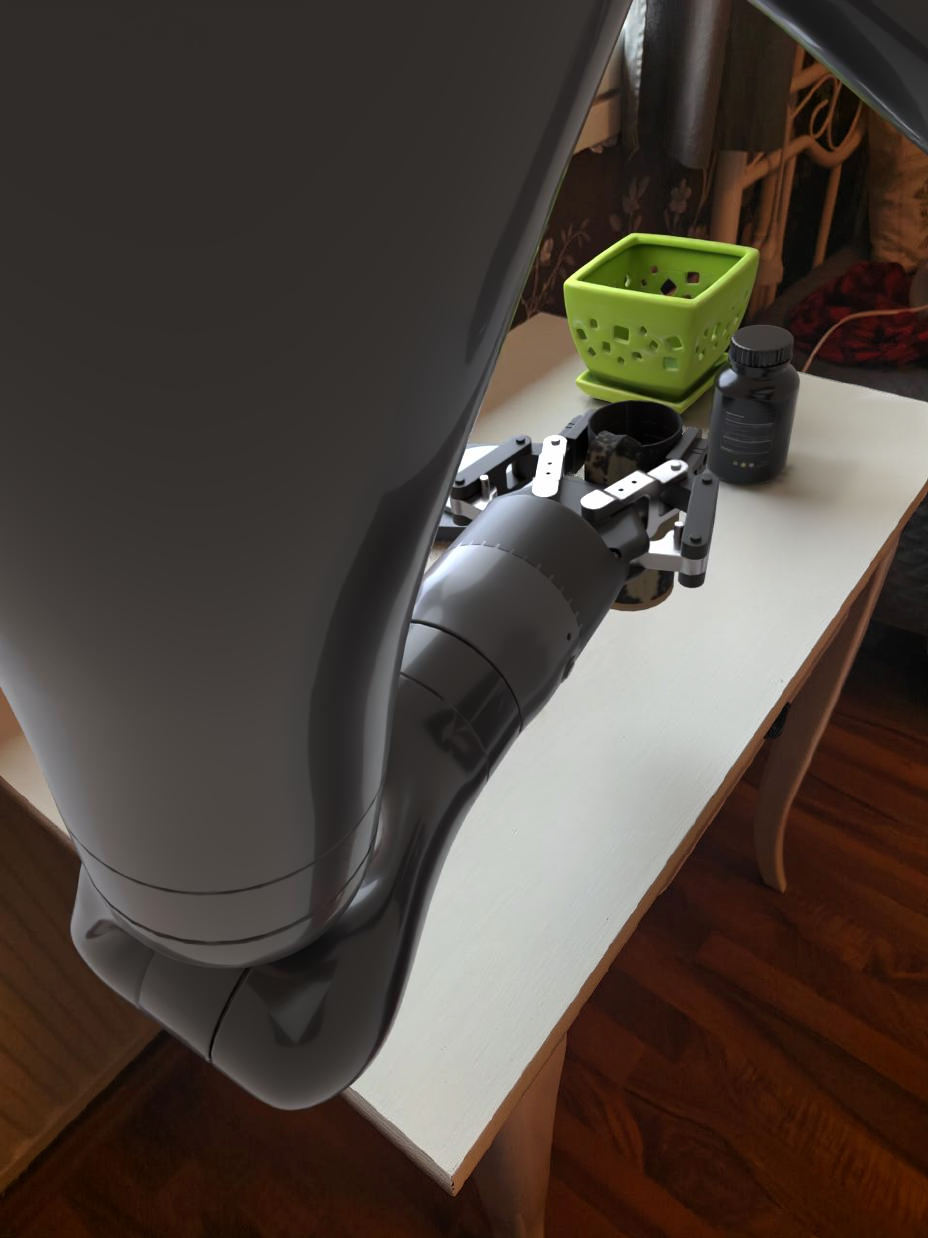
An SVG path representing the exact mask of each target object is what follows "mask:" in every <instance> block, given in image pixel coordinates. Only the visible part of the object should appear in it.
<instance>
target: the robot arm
mask: <svg viewBox="0 0 928 1238" xmlns="http://www.w3.org/2000/svg"><path fill="white" fill-rule="evenodd" d="M746 1H747V2H748V3H749V4H750V5H752V6H753V7H754V8H756V9H757V10H758V11H760V12H761V13H762V14H763V15H764V16H766V17H767V18H768V19H770V21H772V22H773V23H774V25H776V26H777V27H779V28H780V29H781V30H782V31H783V32H784V33H785V34H786V35H787V36H789V37H790V38H791V39H792V40H793V41H794V42H795V43H797V45H799V46H800V47H801V48H802V49H803V50H805V52H807V53H808V54H809V55H810V56H811V57H813V58H814V59H815V60H816V61H817V62H818V63H819V65H821V66H823V67H824V68H825V69H826V70H827V71H828V72H829V73H831V74H832V75H833V76H834V77H835V78H836V79H837V80H839V82H841V83H842V84H843V85H844V86H845V87H847V88H848V89H849V90H850V91H851V92H852V93H853V94H854V95H856V96H857V97H858V98H859V99H860V100H861V101H863V102H864V103H865V104H866V105H867V106H868V107H869V108H871V110H873V111H874V112H875V113H876V114H877V115H878V116H880V117H881V118H882V119H883V120H884V121H885V122H887V123H888V124H889V125H890V126H891V127H892V128H894V129H895V130H896V131H897V132H898V133H900V135H902V136H903V137H904V138H906V139H907V140H908V141H909V142H910V143H912V144H913V145H914V146H915V147H916V148H917V149H919V150H920V151H921V152H922V153H924V154H925V155H926V156H927V157H928V0H746ZM633 3H634V0H0V689H1V691H2V692H3V694H4V695H5V698H6V700H7V702H8V705H9V706H10V708H11V710H12V712H13V714H14V716H15V718H16V720H17V722H18V724H19V726H20V728H21V729H22V733H23V734H24V736H25V738H26V740H27V742H28V744H29V747H30V748H31V750H32V752H33V756H34V757H35V760H36V762H37V764H38V767H39V768H40V770H41V773H42V776H43V777H44V780H45V782H46V784H47V787H48V789H49V791H50V793H51V794H50V795H51V796H52V798H53V801H54V803H55V805H56V809H57V811H58V814H59V815H60V818H61V820H62V822H63V824H64V826H65V829H66V831H67V834H68V835H69V838H70V839H71V842H72V844H73V846H74V848H75V850H76V852H77V855H78V857H79V859H80V861H81V864H80V869H79V875H78V883H77V890H76V894H75V899H74V900H75V901H74V904H73V908H72V913H71V918H70V922H69V923H70V930H69V931H70V936H71V941H72V943H73V945H74V947H75V949H76V951H77V952H78V954H79V956H80V957H81V959H82V960H83V961H84V963H85V964H86V965H87V967H88V968H89V969H90V970H91V972H92V973H94V975H95V976H96V977H97V978H98V979H100V981H101V982H102V983H103V984H104V985H105V986H107V987H108V988H109V989H110V990H111V991H112V992H113V993H115V994H116V995H117V996H118V997H120V998H121V999H122V1000H124V1001H125V1002H126V1003H128V1004H129V1005H130V1006H132V1007H133V1008H134V1009H135V1010H137V1011H138V1012H139V1013H141V1014H143V1015H144V1016H145V1017H147V1018H148V1019H149V1020H151V1021H152V1022H153V1023H154V1024H156V1025H157V1026H159V1027H160V1028H161V1029H162V1030H164V1031H165V1032H167V1033H168V1034H169V1035H171V1036H172V1037H173V1038H175V1039H176V1040H178V1041H179V1042H180V1043H181V1044H182V1045H184V1046H185V1047H187V1048H188V1049H189V1050H190V1051H192V1052H193V1053H194V1054H196V1055H197V1056H198V1057H200V1058H201V1059H202V1060H203V1061H205V1062H207V1063H208V1064H211V1065H212V1067H213V1068H214V1069H216V1071H218V1072H219V1073H220V1074H222V1075H223V1076H225V1077H226V1078H228V1079H229V1080H230V1081H231V1082H232V1083H234V1084H235V1085H237V1086H238V1087H239V1088H241V1089H242V1090H244V1091H245V1092H246V1093H248V1094H249V1095H250V1096H252V1097H253V1098H254V1099H256V1100H258V1101H260V1102H262V1103H264V1104H265V1105H268V1106H269V1107H271V1108H274V1109H277V1110H280V1111H281V1110H282V1111H289V1112H290V1111H298V1110H306V1109H310V1108H312V1107H316V1106H318V1105H320V1104H323V1103H326V1102H327V1101H329V1100H332V1099H333V1098H334V1097H336V1096H338V1095H339V1094H342V1093H343V1092H344V1091H346V1090H348V1088H350V1087H351V1086H352V1085H354V1083H355V1082H357V1081H358V1080H359V1079H360V1078H361V1077H362V1076H363V1075H364V1074H365V1072H367V1070H368V1069H369V1068H370V1067H371V1066H372V1064H373V1063H374V1062H375V1060H376V1059H377V1057H378V1056H379V1054H380V1053H381V1052H382V1049H383V1047H384V1046H385V1044H386V1043H387V1040H388V1038H389V1037H390V1034H391V1032H392V1029H393V1028H394V1025H395V1023H396V1020H397V1018H398V1015H399V1013H400V1010H401V1007H402V1004H403V1000H404V997H405V994H406V991H407V987H408V984H409V981H410V978H411V975H412V972H413V967H414V964H415V960H416V957H417V953H418V950H419V947H420V942H421V938H422V935H423V932H424V928H425V925H426V921H427V918H428V915H429V910H430V907H431V903H432V900H433V897H434V895H435V891H436V888H437V885H438V883H439V881H440V877H441V874H442V871H443V868H444V865H445V863H446V860H447V858H448V856H449V853H450V852H451V849H452V847H453V844H454V842H455V840H456V839H457V836H458V834H459V832H460V830H461V827H462V826H463V824H464V822H465V819H466V817H467V816H468V814H469V813H470V811H471V810H472V808H473V806H474V805H475V804H476V803H475V802H476V801H477V800H478V798H479V796H480V795H481V794H482V792H483V791H484V789H485V787H486V786H487V784H488V783H489V781H490V780H491V778H492V777H493V775H494V774H495V772H496V770H497V769H498V767H499V766H500V764H501V763H502V762H503V760H504V758H505V757H506V756H507V754H508V752H509V751H510V749H511V748H512V747H513V745H514V744H515V742H516V741H517V739H518V738H519V736H520V735H521V734H522V733H523V731H524V730H525V729H526V728H527V727H528V726H529V725H530V724H531V723H532V722H533V721H534V720H535V719H536V718H537V717H538V716H539V714H540V713H541V712H542V711H543V710H544V709H545V707H546V706H547V705H548V703H549V702H550V701H551V699H552V698H553V696H554V695H555V694H556V692H557V691H558V689H559V687H560V686H561V684H563V683H565V681H566V680H567V679H568V678H569V677H570V676H571V673H572V672H573V669H574V667H575V665H576V661H577V660H578V659H579V657H580V656H581V654H582V653H583V651H584V649H585V648H586V646H588V644H589V642H590V641H591V639H592V637H593V636H594V634H595V633H596V631H597V630H598V628H599V627H600V625H601V623H602V622H603V621H604V619H605V618H606V616H607V614H608V613H609V612H610V610H611V609H610V608H611V607H612V605H613V603H614V602H615V600H616V598H617V596H618V594H619V592H620V590H621V588H622V587H623V586H624V585H625V584H626V583H627V582H629V581H631V580H633V579H635V578H637V577H639V576H640V575H642V574H643V573H644V572H645V570H646V569H647V568H649V569H657V570H666V571H675V572H677V573H678V575H677V582H678V583H679V585H681V586H682V587H684V588H687V589H698V588H700V587H702V586H703V584H704V583H705V581H706V575H707V569H708V563H709V557H710V551H711V545H712V539H713V533H714V527H715V520H716V515H717V505H718V498H719V497H718V496H719V488H720V478H718V477H717V476H715V475H714V474H713V473H705V470H706V468H707V454H708V438H703V428H699V427H693V426H687V428H686V429H685V431H684V432H683V434H682V436H681V437H680V439H679V440H678V442H677V443H676V444H675V446H674V447H673V448H672V450H671V451H670V453H669V454H668V455H667V457H666V461H665V463H664V464H662V465H660V466H658V467H657V468H655V469H653V470H652V471H650V472H648V473H644V472H642V471H640V470H638V471H635V472H634V473H632V474H630V475H629V476H627V477H625V478H623V479H622V480H620V481H618V482H616V483H615V484H613V485H606V484H593V483H590V482H587V481H585V480H584V478H583V479H582V478H580V477H576V476H573V475H577V474H578V473H579V472H580V470H581V469H582V468H583V467H584V465H585V460H586V454H587V452H588V420H589V418H590V416H591V415H592V414H593V413H594V412H595V411H596V410H597V409H598V408H591V407H590V408H588V409H587V410H586V411H585V412H584V413H583V415H582V414H578V415H577V416H575V417H573V418H571V420H570V421H568V423H567V424H566V425H565V426H564V427H563V428H562V430H561V431H560V432H559V433H558V434H557V435H555V434H554V435H550V436H547V437H546V438H545V439H544V440H543V442H541V443H539V442H536V443H535V442H532V437H530V436H529V435H526V434H516V435H514V436H512V437H510V438H509V439H507V440H505V441H504V442H502V443H500V444H501V445H500V446H498V447H497V448H495V449H494V450H492V451H490V452H489V453H487V454H486V455H484V456H483V457H481V458H480V459H478V460H477V461H475V462H474V463H472V464H471V465H469V466H468V467H466V468H465V469H463V470H462V471H460V472H459V473H458V470H459V467H460V464H461V462H462V459H463V456H464V453H465V450H466V447H467V445H468V443H469V441H470V439H471V435H472V433H473V430H474V428H475V425H476V422H477V420H478V418H479V414H480V411H481V409H482V406H483V403H484V400H485V398H486V395H487V392H488V390H489V387H490V384H491V381H492V378H493V375H494V373H495V370H496V368H497V366H498V365H497V364H498V362H499V359H500V356H501V354H502V351H503V348H504V345H505V343H506V340H507V337H508V335H509V332H510V329H511V327H512V323H513V321H514V318H515V315H516V312H517V310H518V307H519V304H520V301H521V298H522V295H523V292H524V290H525V287H526V284H527V281H528V278H529V277H530V273H531V271H532V268H533V265H534V262H535V259H536V256H537V254H538V251H539V248H540V245H541V242H542V239H543V237H544V234H545V231H546V229H547V226H548V222H549V221H550V218H551V214H552V212H553V209H554V205H555V203H556V201H557V198H558V195H559V192H560V189H561V186H562V184H563V182H564V179H565V176H566V173H567V172H568V168H569V165H570V163H571V160H572V158H573V155H574V153H575V150H576V148H577V146H578V143H579V140H580V137H581V136H582V132H583V130H584V127H585V125H586V123H587V120H588V118H589V114H590V113H591V110H592V107H593V104H594V102H595V99H596V97H597V95H598V91H599V89H600V87H601V84H602V81H603V79H604V77H605V74H606V71H607V69H608V67H609V64H610V61H611V58H612V56H613V54H614V51H615V49H616V46H617V43H618V41H619V39H620V36H621V33H622V30H623V28H624V25H625V23H626V21H627V18H628V15H629V12H630V10H631V8H632V5H633ZM510 464H511V467H512V470H511V471H509V472H508V473H506V470H507V467H508V466H509V465H510ZM568 474H573V475H568ZM533 477H536V478H535V480H534V483H533V485H531V486H528V487H525V486H526V485H527V484H529V483H530V482H532V480H533ZM523 487H525V488H523ZM661 493H662V495H661ZM660 495H661V496H660ZM448 498H450V505H451V511H452V517H453V523H454V524H455V525H457V526H467V527H466V529H465V530H464V531H463V532H462V533H461V534H460V535H459V536H458V537H457V538H456V540H455V541H454V542H451V544H450V545H448V547H447V548H446V549H445V550H444V551H443V552H442V554H441V555H439V557H438V558H437V559H436V560H435V561H434V562H433V564H432V565H431V566H430V567H429V568H428V569H427V570H426V568H427V565H428V561H429V558H430V555H431V552H432V549H433V546H434V543H435V541H434V540H435V537H436V534H437V531H438V528H439V525H440V522H441V519H442V516H443V513H444V510H445V507H446V504H447V501H448ZM679 512H682V513H685V514H686V515H685V520H684V521H681V520H679V521H677V522H675V524H674V530H671V531H669V532H668V533H667V534H666V536H665V537H664V538H663V539H661V540H658V541H650V538H651V537H652V536H654V534H655V533H656V532H657V529H658V527H659V525H660V524H661V523H663V522H664V521H666V520H668V519H669V518H671V517H672V516H674V515H675V514H677V513H679Z"/></svg>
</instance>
